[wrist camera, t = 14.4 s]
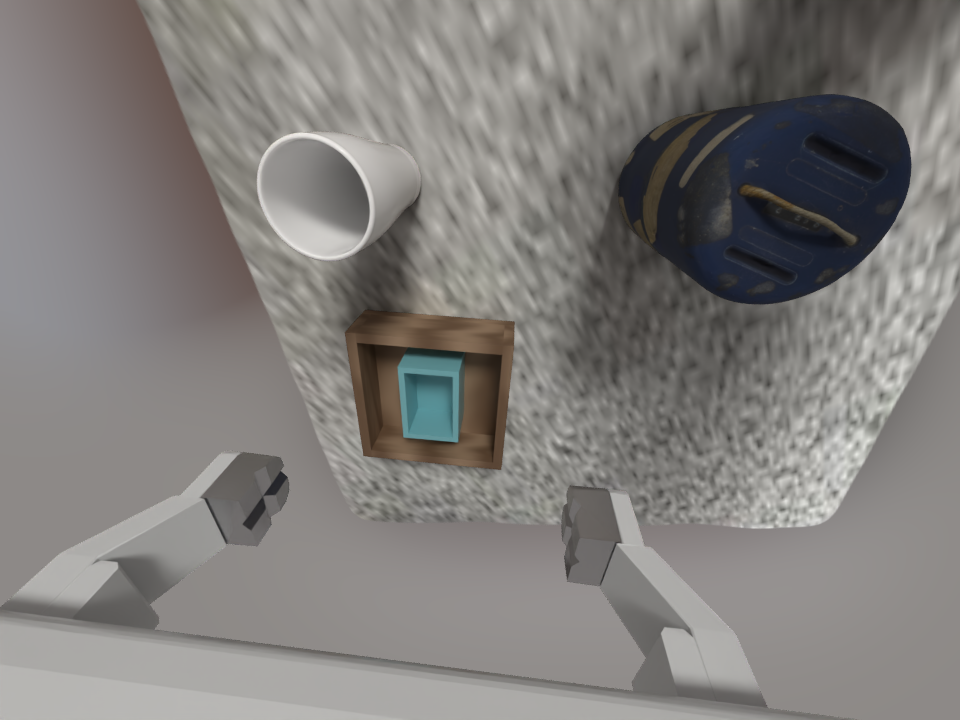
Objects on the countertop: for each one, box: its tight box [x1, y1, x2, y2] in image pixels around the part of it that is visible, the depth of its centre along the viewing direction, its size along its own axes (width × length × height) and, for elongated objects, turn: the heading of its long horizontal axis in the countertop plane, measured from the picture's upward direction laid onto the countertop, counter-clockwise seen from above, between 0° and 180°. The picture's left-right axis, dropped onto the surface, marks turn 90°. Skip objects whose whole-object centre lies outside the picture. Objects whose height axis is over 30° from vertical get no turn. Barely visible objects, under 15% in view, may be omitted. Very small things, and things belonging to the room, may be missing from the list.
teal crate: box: [398, 347, 465, 442], centre depth 41 cm, size 6×9×5 cm, turn 178°
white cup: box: [257, 131, 421, 261], centre depth 27 cm, size 7×7×15 cm
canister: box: [619, 94, 911, 304], centre depth 24 cm, size 10×10×18 cm
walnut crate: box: [345, 310, 515, 470], centre depth 42 cm, size 16×16×6 cm
